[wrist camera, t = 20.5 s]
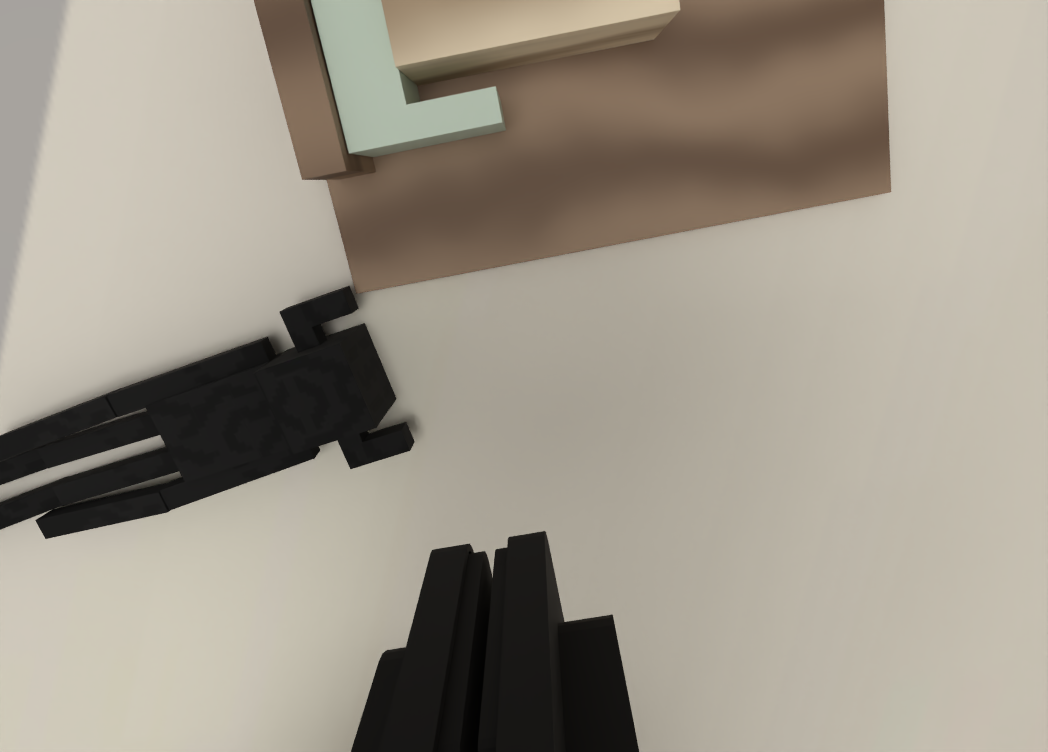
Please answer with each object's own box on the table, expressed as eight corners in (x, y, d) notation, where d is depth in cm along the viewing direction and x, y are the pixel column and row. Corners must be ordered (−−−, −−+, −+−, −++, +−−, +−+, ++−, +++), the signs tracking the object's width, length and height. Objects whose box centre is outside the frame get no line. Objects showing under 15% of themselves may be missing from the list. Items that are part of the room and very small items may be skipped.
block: (506, 130, 34) (502, 122, 30) (373, 156, 35) (348, 153, 30) (462, -103, 32) (450, -154, 27) (319, -71, 32) (282, -115, 27)
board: (883, 191, 36) (961, 194, 30) (359, 291, 38) (324, 314, 31) (865, -257, 31) (957, -375, 24) (254, -117, 32) (184, -192, 26)
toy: (-1, 562, 44) (420, 430, 40) (-66, 607, 40) (403, 463, 36) (-82, 435, 42) (358, 280, 38) (-161, 467, 37) (331, 296, 33)
